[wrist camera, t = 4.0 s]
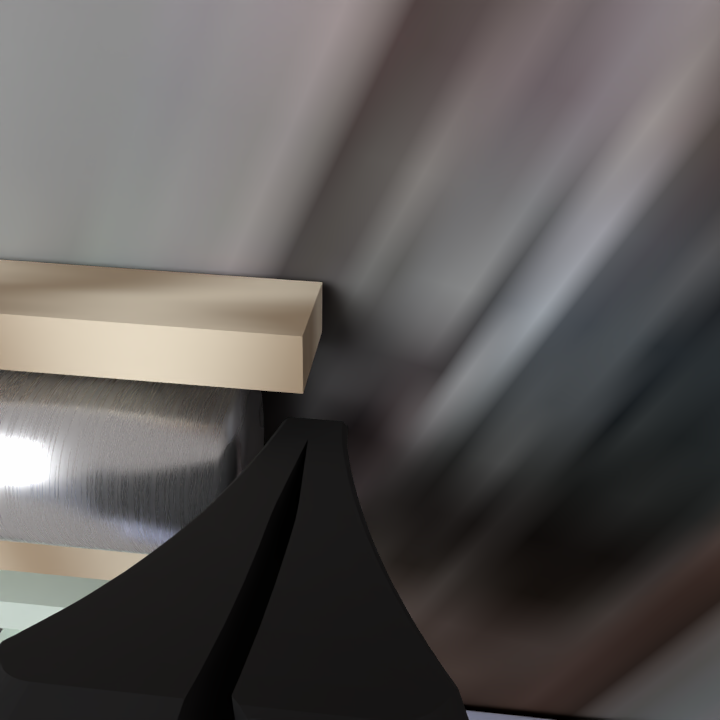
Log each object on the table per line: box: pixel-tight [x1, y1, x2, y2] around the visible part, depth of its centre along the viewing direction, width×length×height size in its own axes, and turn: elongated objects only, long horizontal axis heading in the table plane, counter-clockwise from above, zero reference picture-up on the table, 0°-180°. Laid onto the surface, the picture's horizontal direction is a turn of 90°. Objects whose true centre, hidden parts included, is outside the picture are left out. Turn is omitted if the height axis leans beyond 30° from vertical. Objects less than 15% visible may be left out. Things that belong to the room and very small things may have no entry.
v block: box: [0, 570, 110, 643], centre depth 16 cm, size 8×5×2 cm, turn 88°
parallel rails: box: [0, 260, 322, 580], centre depth 13 cm, size 12×7×2 cm, turn 88°
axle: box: [0, 369, 264, 554], centre depth 12 cm, size 9×4×4 cm, turn 88°
